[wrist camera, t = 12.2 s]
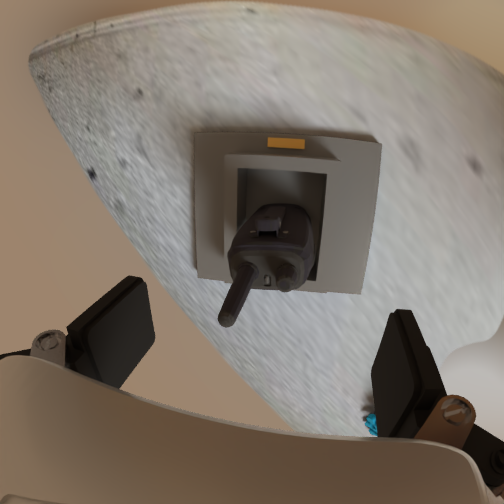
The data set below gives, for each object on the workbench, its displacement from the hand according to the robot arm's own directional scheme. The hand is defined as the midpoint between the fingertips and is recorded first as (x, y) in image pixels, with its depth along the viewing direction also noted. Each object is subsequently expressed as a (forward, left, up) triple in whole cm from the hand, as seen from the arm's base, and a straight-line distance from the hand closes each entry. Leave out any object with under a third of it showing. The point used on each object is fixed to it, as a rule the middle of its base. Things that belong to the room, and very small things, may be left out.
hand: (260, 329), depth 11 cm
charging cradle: (+1, 0, -17) cm, 17 cm away
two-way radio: (+1, 0, -16) cm, 16 cm away
